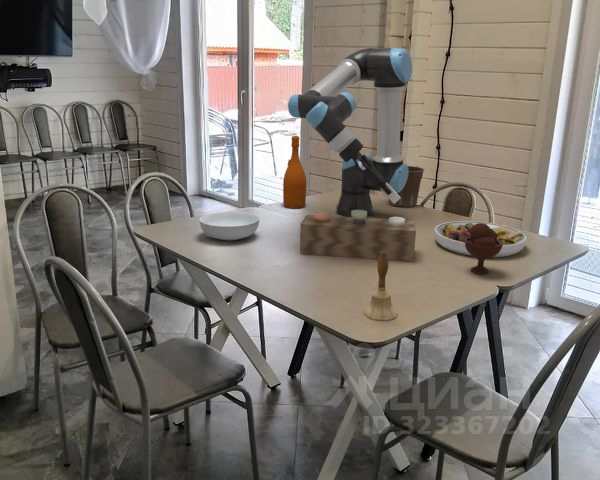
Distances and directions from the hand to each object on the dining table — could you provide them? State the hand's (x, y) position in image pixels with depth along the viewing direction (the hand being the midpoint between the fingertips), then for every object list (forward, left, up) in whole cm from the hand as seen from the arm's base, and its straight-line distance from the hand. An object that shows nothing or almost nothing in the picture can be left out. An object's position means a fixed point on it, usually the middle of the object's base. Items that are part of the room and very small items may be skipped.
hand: (397, 200), depth 180 cm
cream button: (0, 0, -12) cm, 12 cm away
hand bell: (+35, +32, -18) cm, 51 cm away
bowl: (-32, +9, -18) cm, 38 cm away
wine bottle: (-10, -70, -18) cm, 73 cm away
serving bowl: (+35, -45, -18) cm, 60 cm away
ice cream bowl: (-11, +26, -18) cm, 33 cm away
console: (+8, -8, -18) cm, 21 cm away
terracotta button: (+17, -17, -12) cm, 27 cm away
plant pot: (-53, -48, -18) cm, 74 cm away
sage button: (+8, -8, -10) cm, 16 cm away
